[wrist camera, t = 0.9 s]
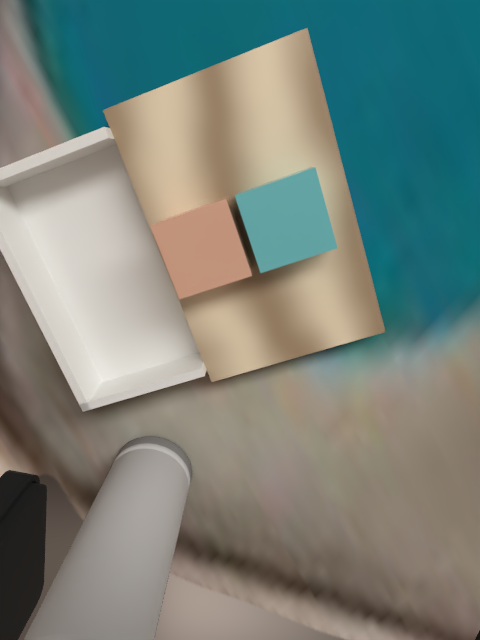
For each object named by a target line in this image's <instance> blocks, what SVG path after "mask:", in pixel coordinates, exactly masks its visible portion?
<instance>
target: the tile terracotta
mask: <svg viewBox="0 0 480 640" xmlns="http://www.w3.org/2000/svg"><path fill="white" fill-rule="evenodd" d="M150 227H151V229H152V232H153V234H154V237H155V239H156V242H157V244H158V247H159V249H160V252H161V254H162V257H163V259H164V262H165V265H166V267H167V270H168V272H169V275H170V277H171V280H172V282H173V285H174V287H175V290H176V292H177V295H178V297H179V299H182V298H185V297H189V296H192V295H195V294H198V293H201V292H204V291H207V290H210V289H213V288H216V287H219V286H223V285H226V284H229V283H232V282H235V281H238V280H241V279H244V278H247V277H250V276H252V273H253V265H252V262H251V259H250V256H249V253H248V250H247V247H246V244H245V241H244V238H243V235H242V232H241V229H240V226H239V223H238V220H237V217H236V214H235V211H234V208H233V206H232V203H231V200H230V197H229V196H228V197H225V198H222V199H219V200H216V201H214V202H211V203H208V204H205V205H202V206H200V207H197V208H194V209H191V210H188V211H185V212H183V213H180V214H177V215H174V216H171V217H169V218H166V219H163V220H160V221H158V222H156V223H154V224H152V225H150Z"/></svg>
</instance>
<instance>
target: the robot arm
mask: <svg viewBox="0 0 480 640" xmlns="http://www.w3.org/2000/svg"><path fill="white" fill-rule="evenodd" d="M46 500H47V487H46V485H43V484H40V480H39V477H38V476H37V475H32V474H27V473H22V472H16V471H11V470H9V471H7V472H5V473H4V474H3V475H2V476H1V477H0V640H18V638H19V636H20V634H21V633H22V631H23V629H24V627H25V625H26V623H27V621H28V620H29V618H30V616H31V614H32V612H33V610H34V608H35V606H36V605H37V602H38V600H39V598H40V595H41V592H42V589H43V585H44V563H45V532H46ZM475 640H480V631H479V633H478V635H477V637H476V639H475Z"/></svg>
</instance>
